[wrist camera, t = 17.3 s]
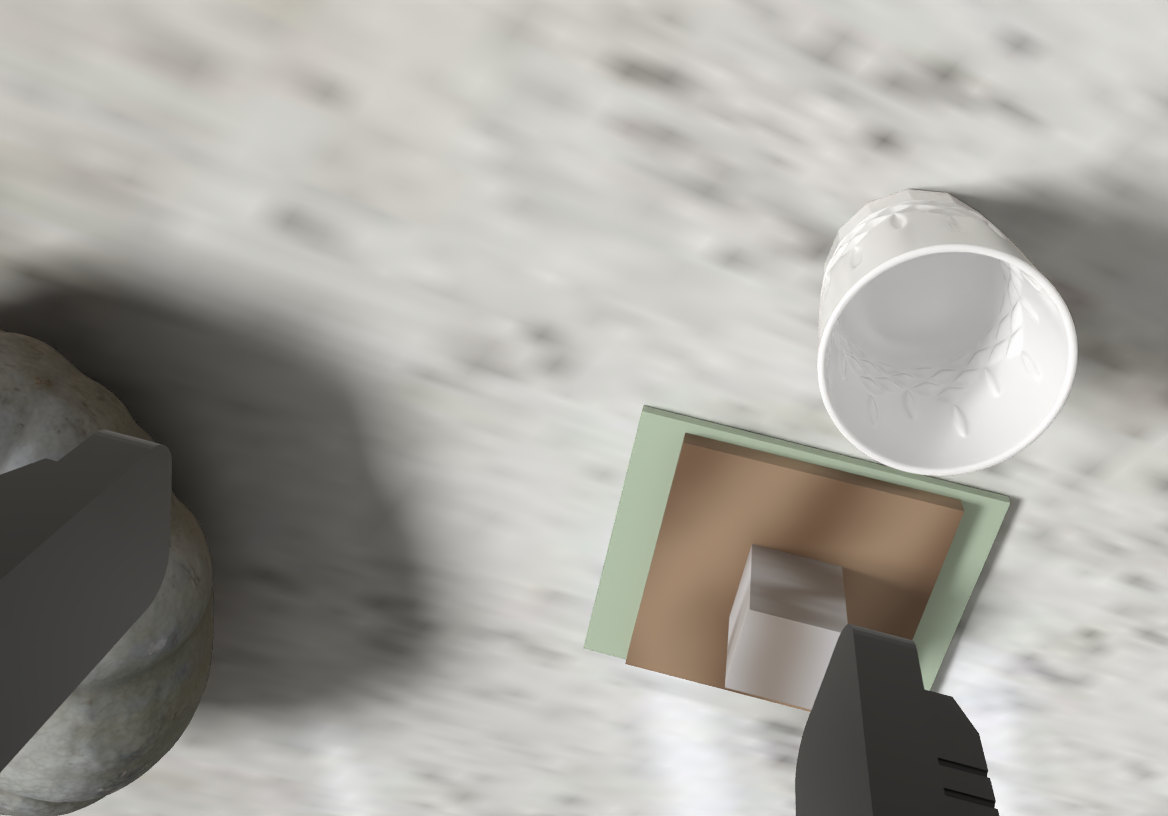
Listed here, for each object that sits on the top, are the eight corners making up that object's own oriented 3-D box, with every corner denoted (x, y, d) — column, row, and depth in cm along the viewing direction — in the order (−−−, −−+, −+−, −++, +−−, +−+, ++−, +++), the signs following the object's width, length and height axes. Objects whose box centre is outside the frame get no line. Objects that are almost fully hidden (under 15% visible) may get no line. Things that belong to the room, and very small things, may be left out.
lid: (960, 500, 47) (984, 576, 41) (875, 714, 52) (886, 808, 47) (685, 432, 47) (673, 499, 42) (628, 650, 53) (611, 735, 47)
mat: (1007, 496, 47) (1010, 502, 46) (909, 725, 53) (910, 734, 52) (643, 405, 48) (642, 411, 47) (585, 640, 54) (583, 648, 53)
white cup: (842, 387, 46) (858, 502, 37) (783, 213, 44) (785, 293, 35) (1036, 329, 44) (1103, 438, 35) (985, 142, 41) (1044, 208, 32)
